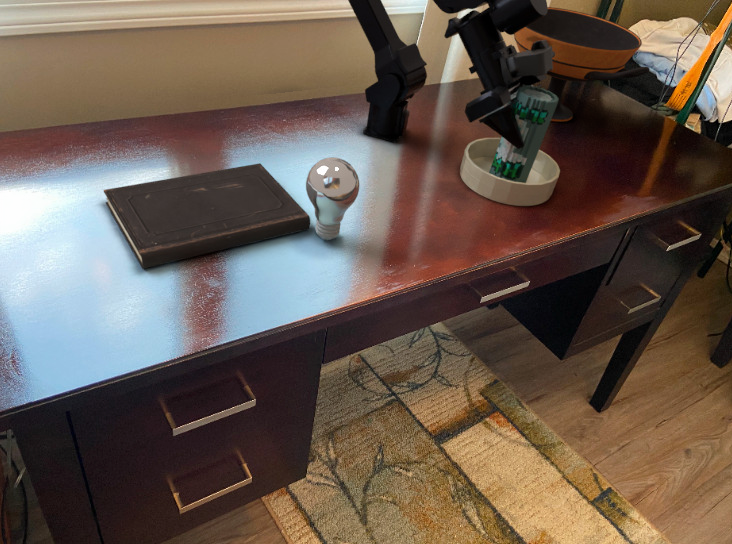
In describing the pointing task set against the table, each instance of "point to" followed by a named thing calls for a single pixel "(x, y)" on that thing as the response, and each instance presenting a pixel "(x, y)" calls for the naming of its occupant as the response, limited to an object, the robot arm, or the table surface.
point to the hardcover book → (203, 213)
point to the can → (525, 134)
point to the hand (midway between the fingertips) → (529, 141)
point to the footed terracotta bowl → (581, 50)
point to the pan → (500, 189)
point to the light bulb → (331, 194)
